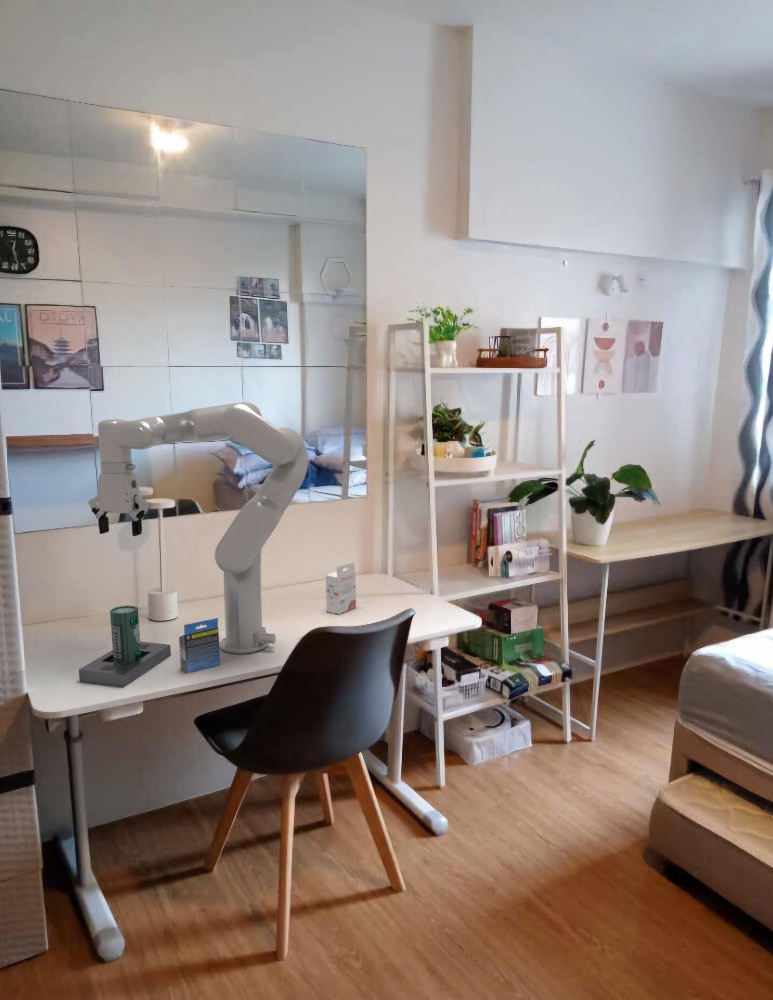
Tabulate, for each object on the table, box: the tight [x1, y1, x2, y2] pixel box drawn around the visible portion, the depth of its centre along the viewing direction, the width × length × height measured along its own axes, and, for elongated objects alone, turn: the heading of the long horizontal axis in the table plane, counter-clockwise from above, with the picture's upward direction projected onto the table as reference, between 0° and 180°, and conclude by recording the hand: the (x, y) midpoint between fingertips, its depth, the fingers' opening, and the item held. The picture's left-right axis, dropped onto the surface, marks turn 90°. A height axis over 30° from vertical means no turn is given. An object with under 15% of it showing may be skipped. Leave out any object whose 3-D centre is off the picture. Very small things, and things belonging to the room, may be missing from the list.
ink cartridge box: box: [325, 561, 357, 615], centre depth 228 cm, size 9×5×15 cm, turn 143°
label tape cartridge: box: [178, 617, 221, 674], centre depth 185 cm, size 9×4×12 cm, turn 127°
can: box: [109, 605, 141, 665], centre depth 184 cm, size 6×6×15 cm
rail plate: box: [78, 640, 172, 688], centre depth 185 cm, size 12×20×3 cm, turn 164°
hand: (120, 533), depth 195 cm, fingers open, 9 cm apart
